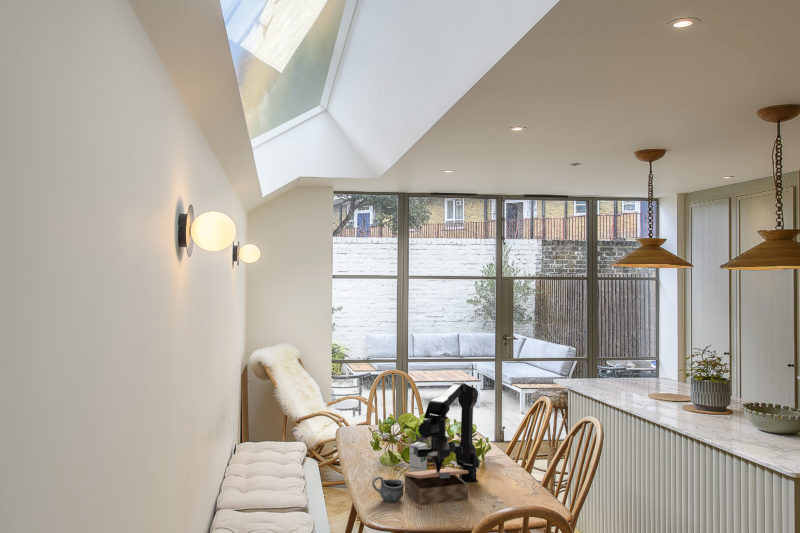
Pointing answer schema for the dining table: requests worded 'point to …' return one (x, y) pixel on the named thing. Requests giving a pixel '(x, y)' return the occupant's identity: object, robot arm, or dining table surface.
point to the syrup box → (417, 459)
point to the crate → (436, 489)
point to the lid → (436, 473)
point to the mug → (390, 489)
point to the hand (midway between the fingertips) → (437, 471)
